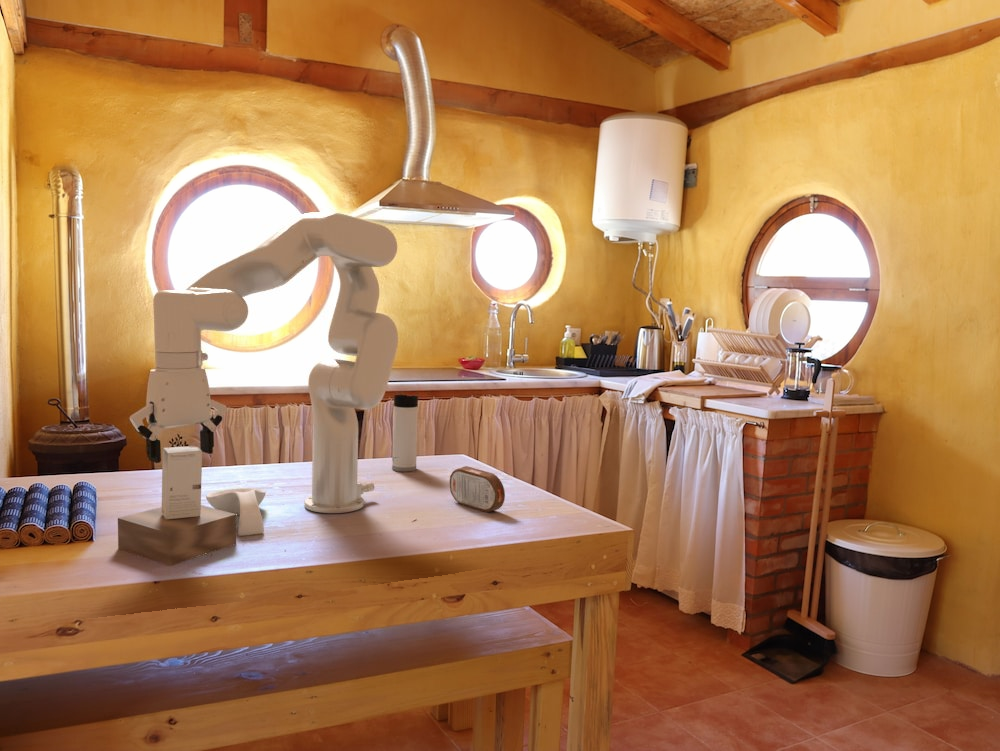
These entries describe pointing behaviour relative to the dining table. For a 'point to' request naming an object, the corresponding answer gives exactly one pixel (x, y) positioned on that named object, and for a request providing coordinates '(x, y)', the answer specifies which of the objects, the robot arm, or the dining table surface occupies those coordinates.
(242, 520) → the spoon rest
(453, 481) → the tin
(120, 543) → the walnut block
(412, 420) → the travel mug
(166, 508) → the skincare box
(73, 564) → the dining table surface
